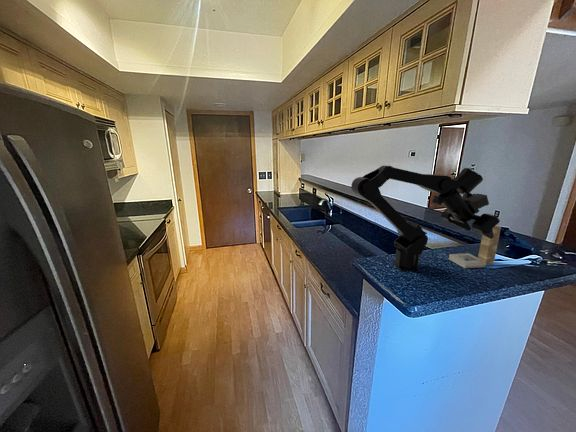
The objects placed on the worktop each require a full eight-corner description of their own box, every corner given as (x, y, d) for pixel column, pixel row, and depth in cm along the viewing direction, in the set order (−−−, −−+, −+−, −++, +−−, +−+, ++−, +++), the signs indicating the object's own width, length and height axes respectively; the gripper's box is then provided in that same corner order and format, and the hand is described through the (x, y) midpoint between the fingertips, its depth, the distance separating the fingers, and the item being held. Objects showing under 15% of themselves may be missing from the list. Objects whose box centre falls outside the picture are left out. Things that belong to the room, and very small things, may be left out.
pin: (484, 264, 85) (492, 226, 82) (477, 261, 88) (484, 224, 85) (493, 264, 85) (501, 226, 82) (485, 260, 89) (492, 224, 85)
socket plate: (464, 268, 83) (465, 262, 82) (448, 259, 90) (449, 254, 90) (485, 267, 83) (486, 261, 83) (467, 258, 91) (468, 253, 90)
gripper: (500, 189, 71) (526, 224, 74) (452, 183, 89) (476, 211, 92) (470, 216, 72) (498, 249, 75) (430, 205, 90) (453, 231, 93)
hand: (480, 233), depth 84 cm, fingers open, 9 cm apart
